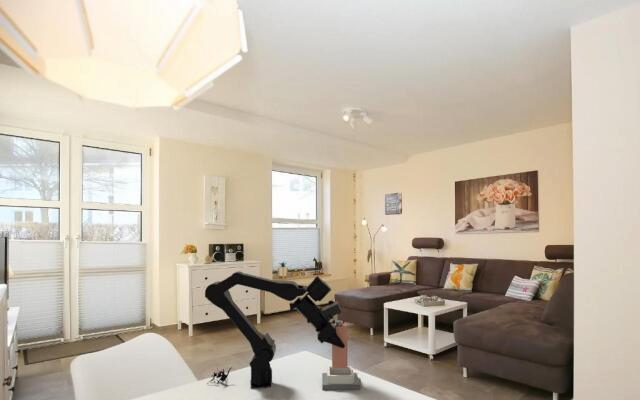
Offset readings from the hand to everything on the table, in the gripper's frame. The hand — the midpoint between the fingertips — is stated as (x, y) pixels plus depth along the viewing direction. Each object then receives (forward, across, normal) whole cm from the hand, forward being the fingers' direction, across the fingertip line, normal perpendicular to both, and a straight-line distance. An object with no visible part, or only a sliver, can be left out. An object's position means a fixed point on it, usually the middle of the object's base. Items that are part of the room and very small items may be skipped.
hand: (343, 344), depth 128 cm
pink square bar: (+4, 0, +6) cm, 7 cm away
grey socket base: (+8, 0, +10) cm, 13 cm away
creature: (-21, +2, +39) cm, 44 cm away
